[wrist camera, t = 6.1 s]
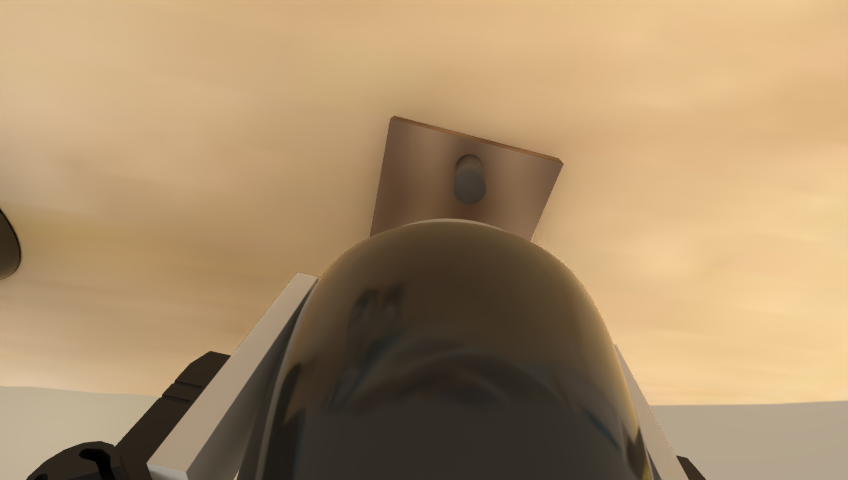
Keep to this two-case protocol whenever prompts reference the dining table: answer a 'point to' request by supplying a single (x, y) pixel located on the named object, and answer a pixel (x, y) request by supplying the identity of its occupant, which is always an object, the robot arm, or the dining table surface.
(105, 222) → the dining table surface
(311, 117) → the dining table surface
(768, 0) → the dining table surface
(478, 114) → the dining table surface
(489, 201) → the holder
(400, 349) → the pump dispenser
